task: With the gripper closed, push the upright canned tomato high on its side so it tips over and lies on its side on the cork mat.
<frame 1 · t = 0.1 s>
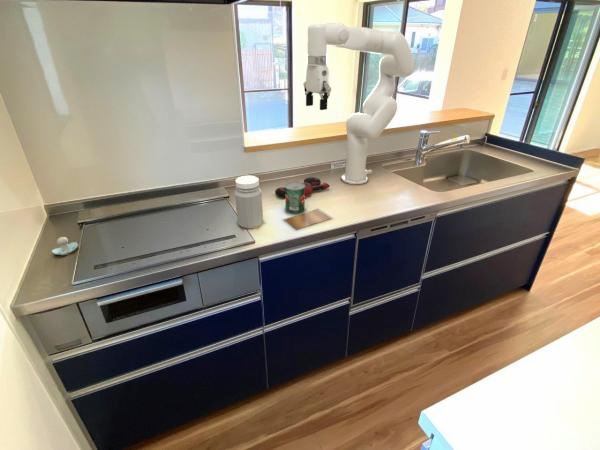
hand: (316, 107, 140), 37 cm above the countertop, tool pointing down, fingers open, 9 cm apart
jar: (250, 224, 131), on the countertop
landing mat: (307, 219, 134), on the countertop
pacifier: (66, 252, 115), on the countertop
toy motorcycle: (304, 193, 155), on the countertop
canned tomato: (295, 210, 141), on the countertop
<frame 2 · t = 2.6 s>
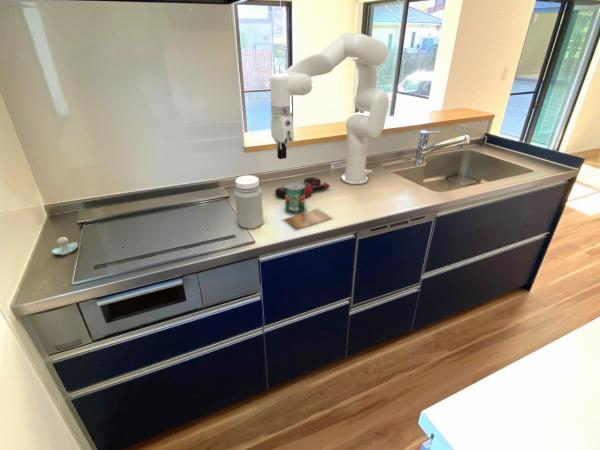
hand: (282, 158, 137), 20 cm above the countertop, tool pointing down, fingers closed
nothing on the countertop moved.
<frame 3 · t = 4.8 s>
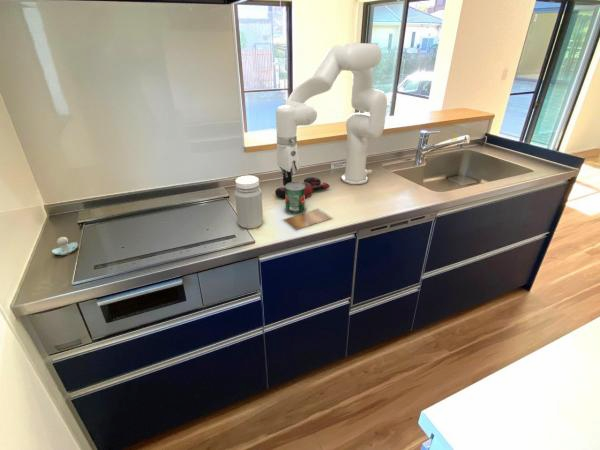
hand: (287, 185, 140), 9 cm above the countertop, tool pointing down, fingers closed
canned tomato: (295, 210, 141), on the countertop, touching gripper
everything else where it was.
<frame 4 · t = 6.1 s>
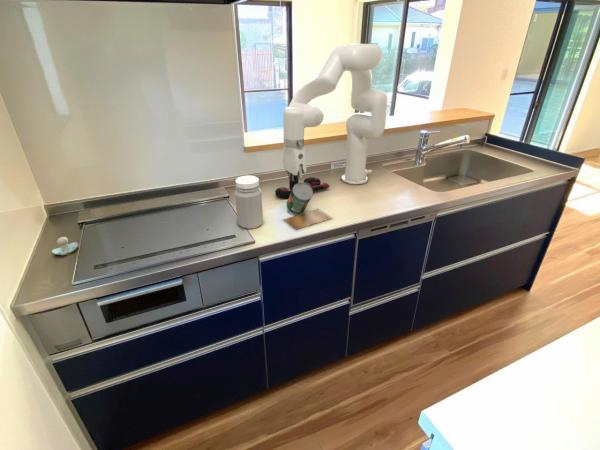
hand: (293, 189, 135), 10 cm above the countertop, tool pointing down, fingers closed
canned tomato: (295, 206, 139), point 2 cm above the countertop, touching gripper
everything else where it was.
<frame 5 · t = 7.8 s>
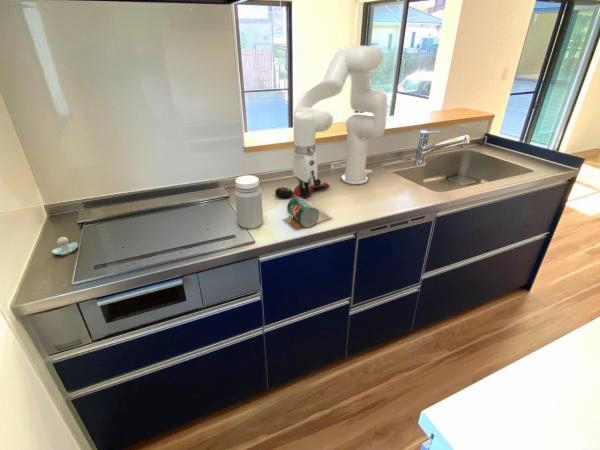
hand: (304, 195, 131), 9 cm above the countertop, tool pointing down, fingers closed
canned tomato: (295, 205, 135), point 4 cm above the countertop, touching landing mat
everything else where it was.
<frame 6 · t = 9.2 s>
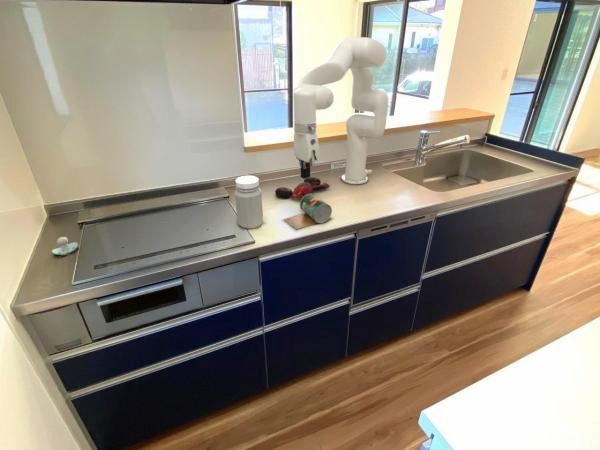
hand: (305, 177, 127), 17 cm above the countertop, tool pointing down, fingers closed
canned tomato: (307, 202, 137), point 4 cm above the countertop, touching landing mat
everything else where it was.
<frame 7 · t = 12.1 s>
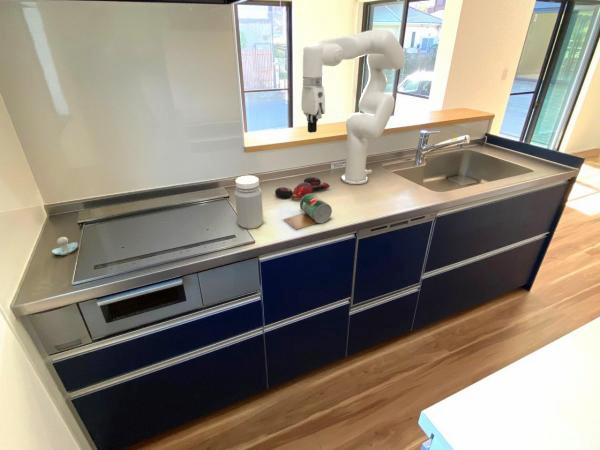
hand: (312, 131, 136), 29 cm above the countertop, tool pointing down, fingers closed
nothing on the countertop moved.
at the end: canned tomato tilted 90°; canned tomato touching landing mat; the gripper is holding nothing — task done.
